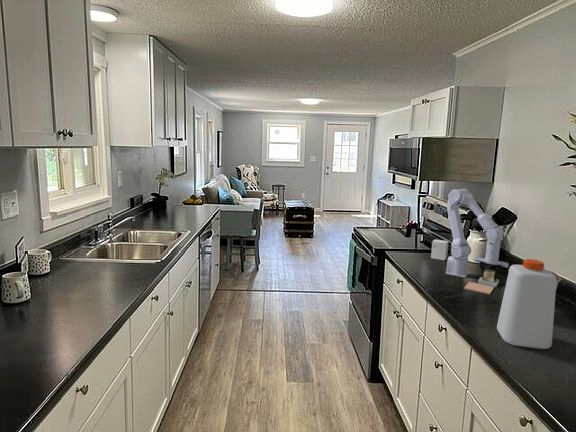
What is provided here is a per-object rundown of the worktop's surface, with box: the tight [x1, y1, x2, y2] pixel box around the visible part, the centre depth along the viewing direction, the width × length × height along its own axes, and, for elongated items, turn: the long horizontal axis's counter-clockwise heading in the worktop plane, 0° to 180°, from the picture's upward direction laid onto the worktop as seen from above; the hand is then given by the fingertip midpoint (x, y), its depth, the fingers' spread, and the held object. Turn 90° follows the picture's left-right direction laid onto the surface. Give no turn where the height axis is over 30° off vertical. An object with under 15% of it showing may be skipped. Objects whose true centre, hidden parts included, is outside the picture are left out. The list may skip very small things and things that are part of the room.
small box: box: [430, 239, 449, 261], centre depth 244 cm, size 8×6×10 cm
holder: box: [477, 276, 500, 288], centre depth 204 cm, size 8×8×2 cm
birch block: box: [483, 268, 495, 283], centre depth 203 cm, size 4×4×6 cm
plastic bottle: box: [496, 258, 557, 350], centre depth 143 cm, size 15×15×28 cm
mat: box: [463, 281, 495, 295], centre depth 195 cm, size 11×11×1 cm
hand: (489, 278), depth 203 cm, fingers closed on birch block, 4 cm apart
